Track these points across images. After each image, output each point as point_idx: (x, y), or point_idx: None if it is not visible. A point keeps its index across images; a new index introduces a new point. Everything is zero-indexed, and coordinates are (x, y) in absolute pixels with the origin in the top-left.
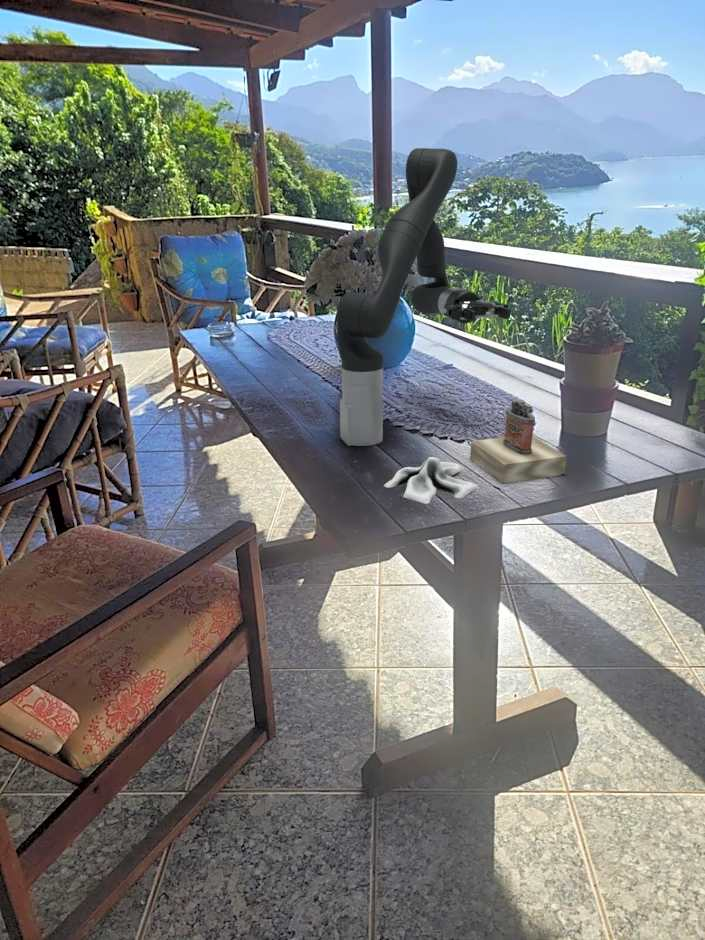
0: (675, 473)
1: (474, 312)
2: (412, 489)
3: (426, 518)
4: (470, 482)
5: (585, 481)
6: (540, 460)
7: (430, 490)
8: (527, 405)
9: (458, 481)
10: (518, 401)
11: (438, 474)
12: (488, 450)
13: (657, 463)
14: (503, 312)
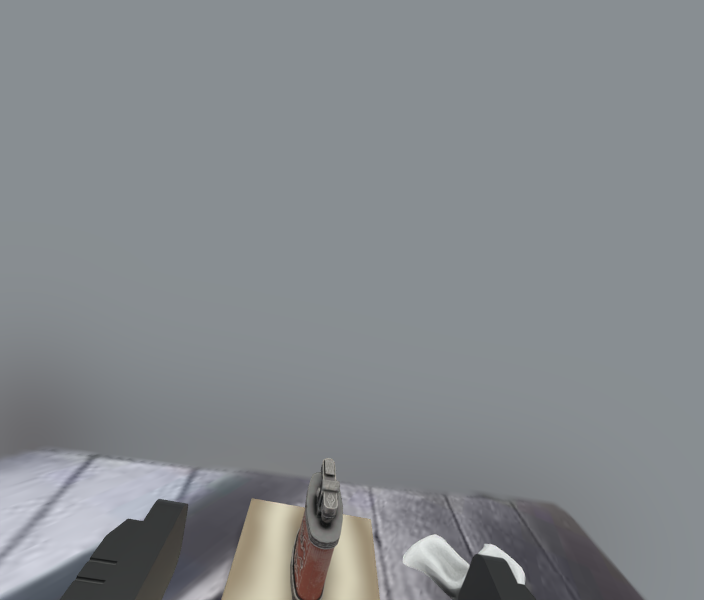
0: (91, 456)
1: (480, 557)
2: (514, 568)
3: (488, 513)
4: (421, 548)
5: (238, 496)
6: (303, 508)
7: None
8: (330, 464)
9: (439, 561)
10: (336, 483)
11: None
12: (369, 585)
13: (54, 487)
14: (156, 583)
